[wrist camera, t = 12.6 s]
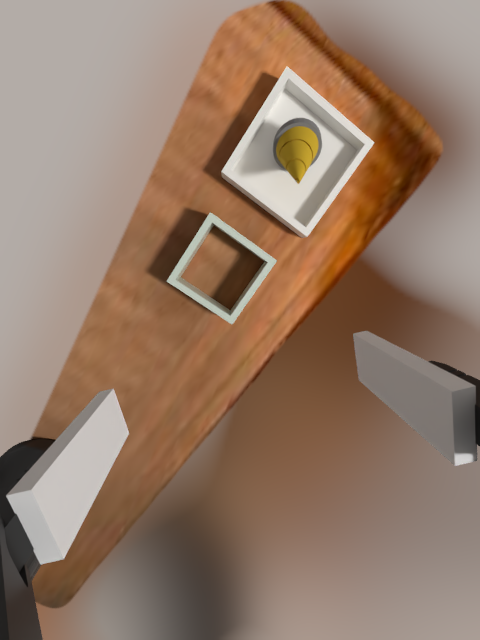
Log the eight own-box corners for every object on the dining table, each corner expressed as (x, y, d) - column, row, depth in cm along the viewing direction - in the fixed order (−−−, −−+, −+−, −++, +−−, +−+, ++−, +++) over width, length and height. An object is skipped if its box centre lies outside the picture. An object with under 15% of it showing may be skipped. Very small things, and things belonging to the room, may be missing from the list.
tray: (302, 237, 37) (307, 236, 34) (221, 177, 35) (221, 171, 32) (364, 150, 34) (374, 142, 32) (282, 80, 32) (286, 66, 30)
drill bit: (324, 142, 34) (331, 195, 29) (282, 161, 36) (282, 212, 31) (312, 94, 30) (318, 146, 25) (266, 119, 32) (263, 171, 27)
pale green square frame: (231, 318, 39) (232, 324, 35) (172, 278, 37) (166, 281, 34) (272, 260, 37) (277, 260, 34) (212, 215, 36) (210, 212, 32)
